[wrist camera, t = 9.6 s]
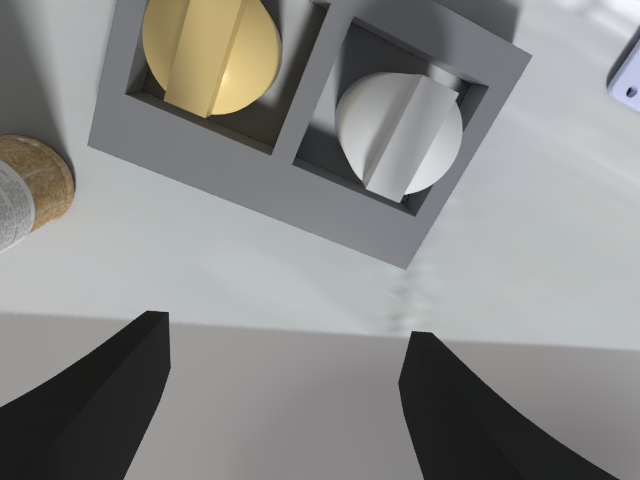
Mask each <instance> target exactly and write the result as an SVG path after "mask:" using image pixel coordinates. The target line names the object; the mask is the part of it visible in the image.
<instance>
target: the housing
mask: <svg viewBox="0 0 640 480" xmlns="http://www.w3.org/2000/svg"><path fill="white" fill-rule="evenodd" d="M149 1H150V0H118V2H117V7H116V11H115V16H114V21H113V26H112V30H111V35H110V40H109V45H108V49H107V54H106V59H105V64H104V68H103V73H102V78H101V83H100V87H99V92H98V97H97V102H96V107H95V111H94V116H93V121H92V126H91V130H90V135H89V140H88V145H87V146H89V147H92V148H95V149H97V150H100V151H102V152H105V153H107V154H110V155H113V156H115V157H118V158H120V159H123V160H125V161H128V162H131V163H133V164H136V165H138V166H141V167H143V168H146V169H148V170H151V171H154V172H156V173H159V174H161V175H164V176H166V177H169V178H172V179H174V180H177V181H179V182H182V183H184V184H187V185H189V186H192V187H195V188H197V189H200V190H202V191H205V192H207V193H210V194H213V195H215V196H218V197H220V198H223V199H225V200H228V201H230V202H233V203H236V204H238V205H241V206H243V207H246V208H248V209H251V210H254V211H256V212H259V213H261V214H264V215H266V216H269V217H272V218H274V219H277V220H279V221H282V222H284V223H287V224H289V225H292V226H295V227H297V228H300V229H302V230H305V231H307V232H310V233H313V234H315V235H318V236H320V237H323V238H325V239H328V240H330V241H333V242H336V243H338V244H341V245H343V246H346V247H348V248H351V249H354V250H356V251H359V252H361V253H364V254H366V255H369V256H371V257H374V258H377V259H379V260H382V261H384V262H387V263H389V264H392V265H395V266H397V267H400V268H402V269H405V270H406V269H407V267H408V266H409V264H410V262H411V261H412V259H413V257H414V256H415V254H416V252H417V250H418V249H419V247H420V245H421V244H422V242H423V240H424V239H425V237H426V235H427V234H428V232H429V230H430V228H431V227H432V225H433V223H434V222H435V220H436V218H437V217H438V215H439V213H440V212H441V210H442V208H443V207H444V205H445V203H446V201H447V200H448V198H449V196H450V195H451V193H452V191H453V190H454V188H455V186H456V185H457V183H458V181H459V179H460V178H461V176H462V174H463V173H464V171H465V169H466V168H467V166H468V164H469V163H470V161H471V159H472V157H473V156H474V154H475V152H476V151H477V149H478V147H479V146H480V144H481V142H482V141H483V139H484V137H485V136H486V134H487V132H488V130H489V129H490V127H491V125H492V124H493V122H494V120H495V119H496V117H497V115H498V114H499V112H500V110H501V108H502V107H503V105H504V103H505V102H506V100H507V98H508V97H509V95H510V93H511V92H512V90H513V88H514V87H515V85H516V83H517V81H518V80H519V78H520V76H521V75H522V73H523V71H524V70H525V68H526V66H527V65H528V63H529V61H530V59H531V58H532V55H531V54H529V53H527V52H525V51H523V50H522V49H520V48H518V47H516V46H514V45H513V44H511V43H509V42H507V41H505V40H504V39H502V38H500V37H498V36H496V35H495V34H493V33H491V32H489V31H487V30H486V29H484V28H482V27H480V26H478V25H477V24H475V23H473V22H471V21H469V20H468V19H466V18H464V17H462V16H460V15H459V14H457V13H455V12H453V11H451V10H450V9H448V8H446V7H444V6H442V5H441V4H439V3H437V2H435V1H433V0H310V1H312V2H314V3H315V4H317V5H319V6H321V7H323V8H325V9H327V10H328V11H327V14H326V16H325V19H324V21H323V24H322V26H321V29H320V31H319V34H318V36H317V39H316V42H315V44H314V47H313V49H312V52H311V54H310V57H309V59H308V62H307V65H306V67H305V70H304V72H303V75H302V77H301V80H300V82H299V85H298V87H297V90H296V93H295V95H294V98H293V100H292V103H291V105H290V108H289V110H288V113H287V115H286V118H285V121H284V123H283V126H282V128H281V131H280V133H279V136H278V138H277V141H276V144H275V146H274V147H272V146H269V145H267V144H265V143H262V142H260V141H258V140H255V139H253V138H251V137H248V136H246V135H244V134H241V133H239V132H237V131H234V130H232V129H230V128H227V127H225V126H223V125H220V124H218V123H216V122H213V121H211V120H209V119H206V118H203V117H201V116H199V115H196V114H194V113H192V112H189V111H187V110H184V109H182V108H180V107H177V106H175V105H173V104H170V103H168V102H166V101H163V100H162V99H160V98H157V97H155V96H153V95H150V94H148V93H146V92H143V87H144V83H145V79H146V75H147V71H148V67H149V64H148V62H147V59H146V56H145V51H144V47H143V37H142V30H143V20H144V15H145V12H146V8H147V6H148V3H149ZM351 22H352V23H354V24H356V25H358V26H360V27H362V28H364V29H366V30H368V31H370V32H371V33H373V34H375V35H377V36H379V37H381V38H383V39H385V40H387V41H389V42H391V43H393V44H395V45H397V46H399V47H400V48H402V49H404V50H406V51H408V52H410V53H412V54H414V55H416V56H418V57H420V58H422V59H424V60H426V61H427V62H429V63H431V64H433V65H435V66H437V67H439V68H441V69H443V70H445V71H447V72H449V73H451V74H453V75H455V76H456V77H458V78H460V79H462V80H464V81H466V82H468V83H470V84H471V86H470V88H469V89H468V91H467V93H466V95H465V97H464V99H463V100H462V102H461V104H460V106H459V110H460V114H461V118H462V130H463V132H462V140H461V145H460V148H459V151H458V154H457V156H456V158H455V160H454V162H453V163H452V165H451V166H450V168H449V169H448V170H447V172H446V173H445V174H444V175H443V176H442V177H441V178H440V179H439V180H438V181H436V182H435V183H434V184H432V185H430V186H429V187H427V188H425V189H423V190H421V191H418V192H415V193H411V195H410V197H409V198H408V200H407V202H406V204H405V203H402V202H400V203H398V202H395V201H393V200H391V199H388V198H386V197H384V196H381V195H379V194H377V193H374V192H372V191H370V190H367V189H366V188H365V186H363V185H360V184H358V183H356V182H353V181H351V180H349V179H346V178H344V177H342V176H339V175H337V174H335V173H332V172H330V171H328V170H325V169H323V168H321V167H318V166H316V165H314V164H311V163H309V162H307V161H304V160H302V159H300V158H297V157H295V156H296V153H297V151H298V148H299V146H300V144H301V141H302V139H303V136H304V134H305V132H306V129H307V127H308V124H309V122H310V120H311V117H312V115H313V112H314V110H315V108H316V105H317V103H318V100H319V98H320V96H321V93H322V91H323V88H324V86H325V84H326V81H327V79H328V76H329V74H330V72H331V69H332V67H333V64H334V62H335V60H336V57H337V55H338V52H339V50H340V48H341V45H342V43H343V40H344V38H345V36H346V33H347V31H348V28H349V26H350V24H351Z"/></svg>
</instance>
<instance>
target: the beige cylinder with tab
mask: <svg viewBox="0 0 640 480" xmlns="http://www.w3.org/2000/svg"><path fill="white" fill-rule="evenodd" d="M142 37H143V47H144V51H145V56H146V59H147V62H148V64H149V67H150V69H151V71H152V73H153V75H154V76H155V78H156V80H157V81H158V82H159V84H160V85H161V86H162V88H163V89H164V90H165V91H166V93H165V97H164V100H163V101H166V102H168V103H170V104H173V105H175V106H177V107H180V108H182V109H184V110H187V111H189V112H192V113H194V114H196V115H199V116H201V117H203V118H206V117H208V116H210V115H211V114H214V115H218V114H227V113H232V112H235V111H238V110H240V109H242V108H244V107H246V106H248V105H249V104H250V103H252V102H253V101H255V100H256V99H257V98H259V97H260V96H261V95H263V94H264V93H265V92H266V91H267V90H268V89H269V88H270V87H271V86H272V85H273V83H274V82H275V80H276V78H277V76H278V74H279V71H280V68H281V63H282V43H281V38H280V35H279V32H278V29H277V27H276V25H275V23H274V22H273V20H272V18H271V17H270V15H269V14H268V12H267V11H266V9H265V7H264V6H263V4H262V3H261V1H260V0H150V1H149V3H148V6H147V8H146V12H145V15H144V20H143V30H142Z"/></svg>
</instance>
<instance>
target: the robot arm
mask: <svg viewBox="0 0 640 480" xmlns="http://www.w3.org/2000/svg"><path fill="white" fill-rule="evenodd" d="M630 87H631V92H630V94H629V95H628V96H626V92H627V90H628V88H630ZM608 93H609V95H610V96H611V97H612V98H614V99H616V100H618V101H619V102H621V103H623V104H625V105H627V106H628V107H630V108H632V109H634V110H636V111H637V112H639V113H640V39H639V41H638V42H637V44H636V45H635V47H634V48H633V50H632V51H631V53H630V54H629V56H628V57H627V59H626V60H625V62H624V63H623V64H622V66H621V67H620V69H619V70H618V72H617V73H616V75H615V76H614V78H613V79H612V81H611V82H610V84H609V86H608ZM170 368H171V365H170V339H169V312H159V311H146V312H144V313H143V314H141V315H140V316H139V317H137V318H136V319H135V320H133V321H132V322H131V323H129V324H128V325H127V326H126V327H124V328H123V329H122V330H120V331H119V332H118V333H116V334H115V335H114V336H113V337H111V338H110V339H108V340H107V341H106V342H104V343H103V344H102V345H100V346H99V347H97V348H96V349H95V350H93V351H92V352H90V353H89V354H88V355H86V356H85V357H83V358H82V359H80V360H79V361H77V362H76V363H74V364H73V365H71V366H70V367H68V368H67V369H65V370H64V371H62V372H61V373H59V374H58V375H56V376H54V377H53V378H51V379H50V380H48V381H46V382H45V383H43V384H41V385H40V386H38V387H36V388H35V389H33V390H31V391H29V392H27V393H26V394H24V395H22V396H20V397H19V398H17V399H15V400H13V401H11V402H9V403H8V404H6V405H4V406H2V407H0V480H123V479H124V477H125V475H126V473H127V470H128V468H129V466H130V464H131V462H132V460H133V458H134V456H135V454H136V451H137V449H138V447H139V445H140V443H141V441H142V439H143V436H144V434H145V432H146V430H147V428H148V426H149V424H150V422H151V419H152V417H153V415H154V413H155V411H156V409H157V406H158V404H159V402H160V399H161V396H162V393H163V390H164V387H165V384H166V381H167V378H168V375H169V372H170ZM398 384H399V390H400V396H401V402H402V407H403V412H404V417H405V420H406V423H407V426H408V430H409V433H410V436H411V440H412V443H413V446H414V449H415V452H416V455H417V458H418V462H419V465H420V468H421V471H422V474H423V477H424V480H619V479H617V478H615V477H614V476H612V475H610V474H609V473H607V472H605V471H604V470H602V469H600V468H599V467H597V466H595V465H594V464H592V463H591V462H589V461H587V460H586V459H584V458H583V457H581V456H580V455H578V454H577V453H575V452H574V451H572V450H571V449H569V448H568V447H566V446H564V445H563V444H561V443H560V442H559V441H557V440H556V439H554V438H553V437H551V436H550V435H548V434H547V433H546V432H545V431H543V430H542V429H540V428H539V427H538V426H536V425H535V424H534V423H532V422H531V421H530V420H528V419H527V418H526V417H524V416H523V415H522V414H521V413H519V412H518V411H517V410H516V409H514V408H513V407H512V406H511V405H510V404H508V403H507V402H506V401H505V400H503V399H502V398H501V397H500V396H499V395H498V394H497V393H495V392H494V391H493V390H492V389H491V388H490V387H489V386H488V385H486V384H485V383H484V382H483V381H482V380H481V379H480V378H478V377H477V375H476V374H474V373H473V372H472V371H471V370H470V369H469V368H468V367H467V366H466V365H465V364H464V363H463V362H462V361H461V360H460V359H459V358H458V357H457V356H456V355H455V354H454V353H453V352H452V351H450V350H449V348H447V347H446V346H445V345H444V344H443V343H442V342H441V341H440V340H439V339H438V338H437V337H436V336H435V335H434V334H433V333H430V332H417V331H412V333H411V337H410V341H409V344H408V349H407V352H406V356H405V360H404V363H403V367H402V371H401V375H400V379H399V382H398Z"/></svg>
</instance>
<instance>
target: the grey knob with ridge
mask: <svg viewBox="0 0 640 480" xmlns="http://www.w3.org/2000/svg"><path fill="white" fill-rule="evenodd" d="M458 95H459V93H458V92H456V91H454V90H452V89H450V88H448V87H446V86H444V85H442V84H440V83H438V82H436V81H434V80H432V79H430V78H428V77H426V76H424V75H419V74H415V75H412V74H402V73H391V72H376V73H371V74H368V75H365V76H363V77H361V78H359V79H358V80H356V81H355V82H354V83H352V84H351V85H350V86H349V87H348V88H347V89H346V91H345V92H344V94H343V95H342V97H341V99H340V101H339V103H338V106H337V109H336V113H335V130H336V134H337V138H338V140H339V142H340V144H341V147H342V149H343V151H344V153H345V155H346V157H347V159H348V161H349V163H350V165H351V167H352V169H353V170H354V172H355V174H356V175H357V176H358V177H359V178H360V179H361V180H362V182H363V184H364V186H365V188H366V189H367V190H370V191H372V192H374V193H377V194H379V195H381V196H384V197H386V198H388V199H391V200H393V201H395V202H398V203H400V201H401V199H402V198H403V196H404V195H405V194H411V193H415V192H418V191H421V190H423V189H425V188H427V187H429V186H430V185H432V184H434V183H435V182H436V181H438V180H439V179H440V178H441V177H442V176H443V175H444V174H445V173H446V172H447V170H448V169H449V168H450V166H451V165H452V163H453V162H454V160H455V158H456V156H457V154H458V151H459V148H460V145H461V140H462V132H463V130H462V118H461V114H460V110H459V108H458V105H457V103H456V101H455V100H456V98H457V96H458Z"/></svg>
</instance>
